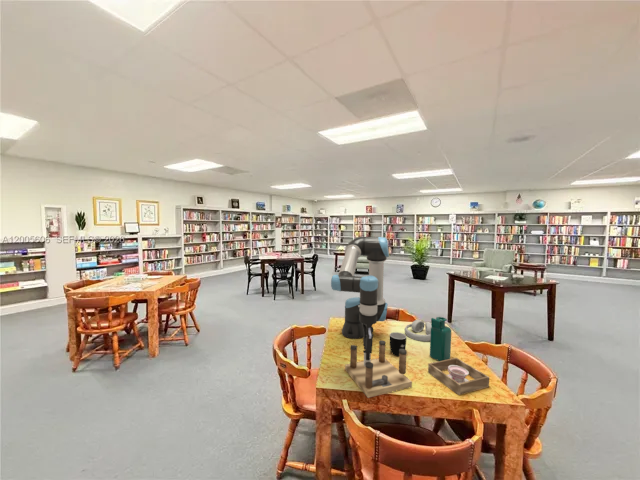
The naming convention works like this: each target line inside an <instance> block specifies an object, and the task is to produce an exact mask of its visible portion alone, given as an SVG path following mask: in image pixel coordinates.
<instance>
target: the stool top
mask: <svg viewBox="0 0 640 480" xmlns="http://www.w3.org/2000/svg"><path fill="white" fill-rule="evenodd" d="M386 343H387V342H386V341H385V340H381V339H380V340H379V341H378V345H379V346H378V358H372V359H371V363H373V380H378V379H382V376H383V375H386V376H387V377H388V383H387V384H380V385H376V386H372V388H367V387H365V372H366V366H364V360H362V361H358V359H357V357H358V355H357V354H358V346H357V345H356V344H351V345H350V362H349V363H347V364H344V370H345V372H346V373H347V374H348V375H349V377H351V379H352V380H353V381H354V382H355V384H356V385H357V387H359V389H360V390H361V391H362V393H363V394H364V396H366V398H367V399H369V398H373V397H376V396H381V395H385V394H389V393H388V392H390V393H393V392H392V391H394V392H397V391H396V390H398V391H401V390H400V389H402V390H405V389H404V388H406V389H409V387H410V388H412V387H413V381H412V380H411V379H410V378H409V377H407V376H406V375H405V374H400V373H399V368H397V367H396V366H394V364H392V363H391V361H388V360H387V358H386Z"/></svg>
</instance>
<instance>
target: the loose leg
mask: <svg viewBox="0 0 640 480" xmlns="http://www.w3.org/2000/svg"><path fill="white" fill-rule="evenodd" d="M407 351H408V350H406V348H405V349H399V356H398V370H399V373H400V374H404V375H405V374H407V373H406V372H407V354H408V353H407Z"/></svg>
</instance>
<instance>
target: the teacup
mask: <svg viewBox="0 0 640 480" xmlns="http://www.w3.org/2000/svg"><path fill="white" fill-rule="evenodd" d="M447 372H448V374H447V375H448V376H449V377H450V378H452V379H453V380H455V381H456V382H458V383H463V382H466V381H470V380H469V379H467V376H469V375H468V374H469V372H468V371H467V370H466V369H465V368H463V367H460V366H457V365H450V366H448V369H447Z"/></svg>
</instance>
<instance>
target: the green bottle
mask: <svg viewBox="0 0 640 480" xmlns="http://www.w3.org/2000/svg"><path fill="white" fill-rule="evenodd" d="M430 320H431V321H430V322H431V326H432V327H431V333H430V341H429V357H430V358H432V359H434V360H436V361H437V362H438V361H443V360H447V359H451V354H452V353H451V350H452V349H451V348H452V347H451V346H452V328H450V327H448V326H446V321H447V320H448V319H447V318H446V317H442V316H436V318H434V317H432V318H430Z"/></svg>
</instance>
